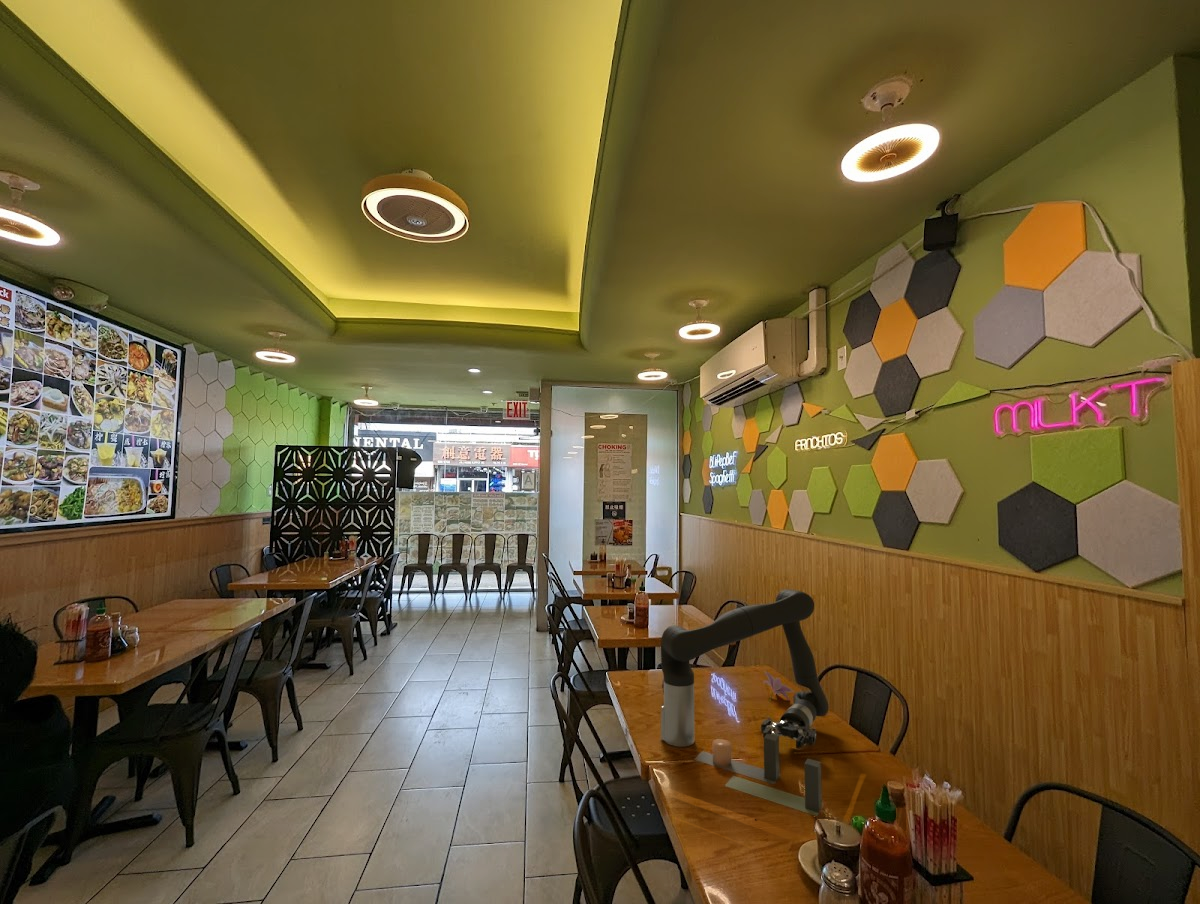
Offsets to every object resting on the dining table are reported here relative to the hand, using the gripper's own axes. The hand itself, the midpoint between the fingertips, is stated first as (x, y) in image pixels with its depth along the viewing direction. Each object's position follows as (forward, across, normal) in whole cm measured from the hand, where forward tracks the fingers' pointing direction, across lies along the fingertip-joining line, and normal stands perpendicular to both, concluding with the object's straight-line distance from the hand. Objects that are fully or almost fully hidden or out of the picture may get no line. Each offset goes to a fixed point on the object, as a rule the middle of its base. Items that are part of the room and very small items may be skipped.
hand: (781, 740), depth 146 cm
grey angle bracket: (+17, +2, +7) cm, 18 cm away
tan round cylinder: (+9, -14, +6) cm, 17 cm away
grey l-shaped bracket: (+9, -10, +7) cm, 15 cm away
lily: (-51, -16, +8) cm, 54 cm away
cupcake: (-28, -46, +8) cm, 54 cm away
